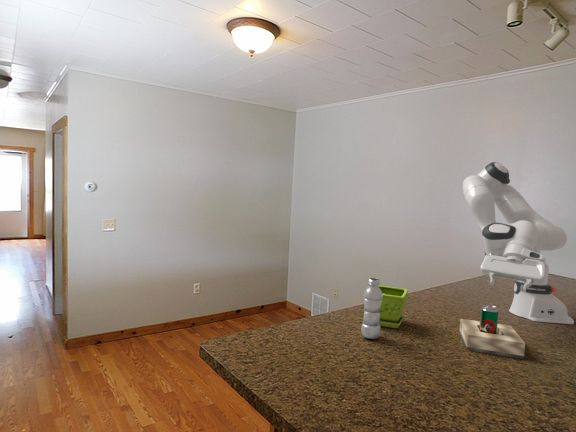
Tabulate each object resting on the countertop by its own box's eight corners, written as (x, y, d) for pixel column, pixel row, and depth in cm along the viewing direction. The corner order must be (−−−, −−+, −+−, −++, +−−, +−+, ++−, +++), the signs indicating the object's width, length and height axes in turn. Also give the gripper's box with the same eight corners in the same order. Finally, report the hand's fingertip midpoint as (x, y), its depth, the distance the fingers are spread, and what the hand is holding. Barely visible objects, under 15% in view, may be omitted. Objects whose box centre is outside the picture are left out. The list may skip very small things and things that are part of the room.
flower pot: (406, 320, 140) (408, 288, 139) (401, 332, 128) (404, 297, 127) (370, 314, 146) (372, 283, 145) (362, 325, 133) (364, 291, 133)
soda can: (499, 345, 118) (502, 309, 117) (485, 345, 117) (488, 309, 117) (488, 338, 123) (491, 304, 122) (475, 338, 122) (478, 304, 122)
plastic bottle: (381, 335, 124) (384, 278, 123) (379, 343, 118) (383, 282, 116) (362, 332, 126) (365, 276, 125) (359, 339, 120) (363, 280, 118)
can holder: (509, 339, 126) (510, 325, 126) (523, 359, 111) (525, 343, 110) (459, 332, 131) (460, 318, 130) (466, 349, 116) (467, 334, 115)
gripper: (484, 247, 139) (473, 276, 132) (549, 256, 124) (540, 288, 118) (487, 258, 142) (476, 286, 136) (550, 267, 128) (542, 299, 121)
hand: (506, 287), depth 127 cm, fingers open, 8 cm apart
